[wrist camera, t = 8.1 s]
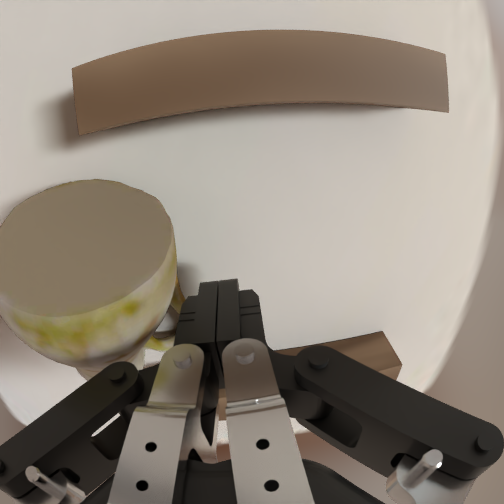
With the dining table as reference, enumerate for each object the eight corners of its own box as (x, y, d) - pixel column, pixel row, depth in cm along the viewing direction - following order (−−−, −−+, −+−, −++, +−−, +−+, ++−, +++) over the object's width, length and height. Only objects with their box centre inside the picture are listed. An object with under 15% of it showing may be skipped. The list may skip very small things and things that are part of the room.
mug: (76, 342, 16) (-45, 383, 6) (116, 193, 16) (-6, 128, 6) (180, 393, 15) (99, 504, 5) (234, 230, 16) (181, 168, 6)
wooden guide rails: (105, 75, 9) (71, 68, 7) (404, 59, 10) (445, 54, 7) (182, 384, 17) (178, 422, 15) (375, 356, 18) (392, 389, 15)
